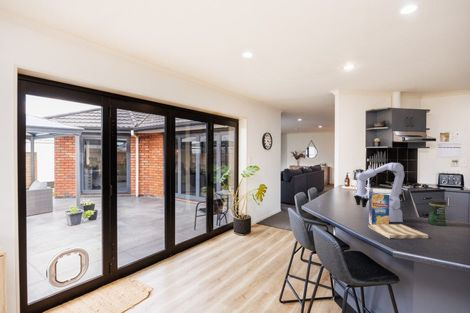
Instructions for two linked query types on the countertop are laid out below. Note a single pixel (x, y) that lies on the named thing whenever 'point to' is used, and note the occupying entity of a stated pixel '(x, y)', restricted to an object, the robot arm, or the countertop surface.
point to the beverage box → (378, 208)
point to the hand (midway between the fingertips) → (361, 206)
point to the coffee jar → (437, 212)
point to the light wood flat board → (397, 231)
